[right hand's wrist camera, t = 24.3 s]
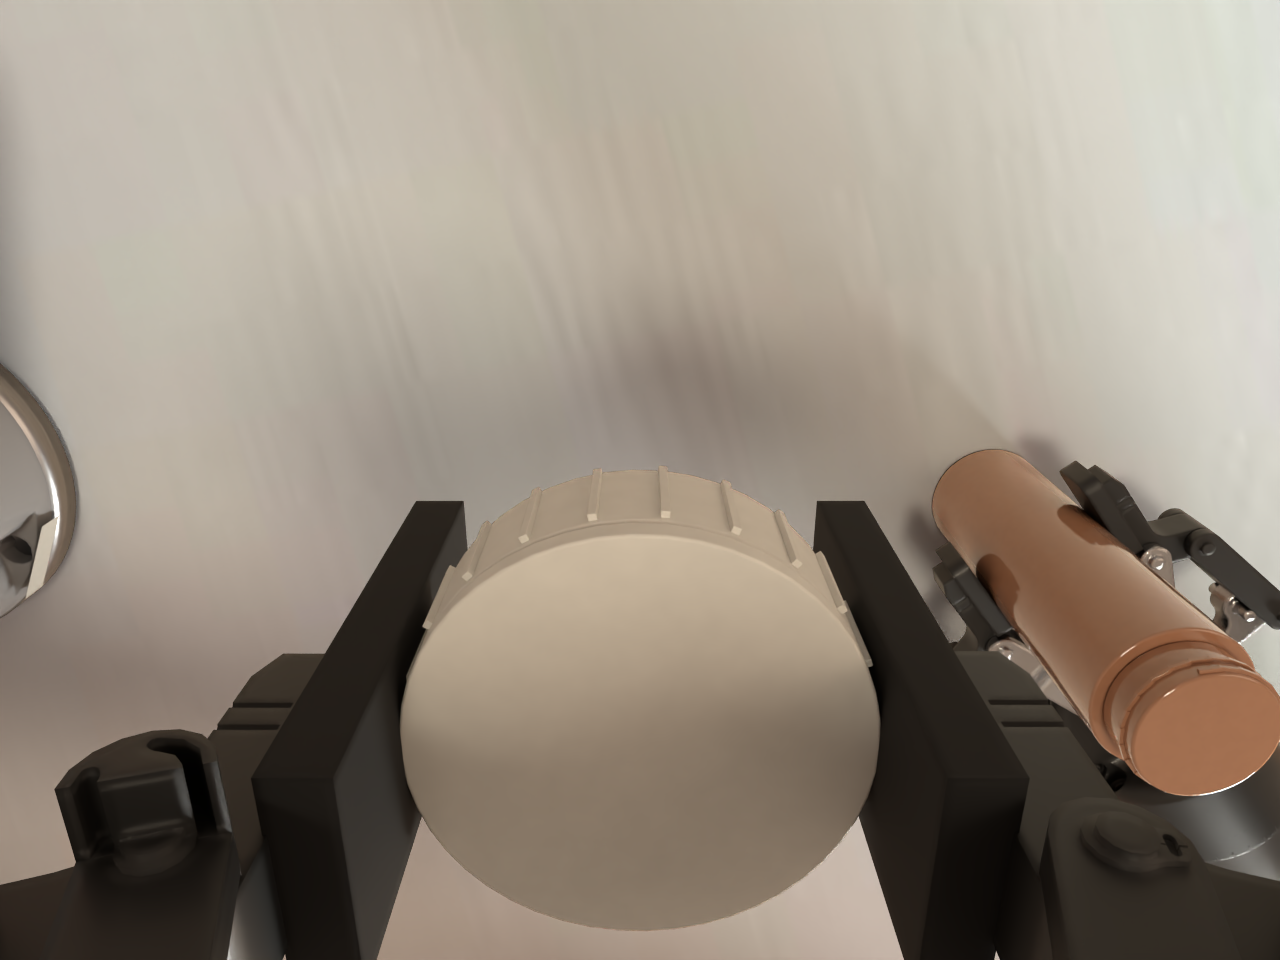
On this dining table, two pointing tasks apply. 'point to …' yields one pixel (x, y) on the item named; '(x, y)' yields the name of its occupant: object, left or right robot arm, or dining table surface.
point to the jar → (1110, 630)
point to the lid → (640, 704)
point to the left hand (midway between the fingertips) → (1011, 516)
